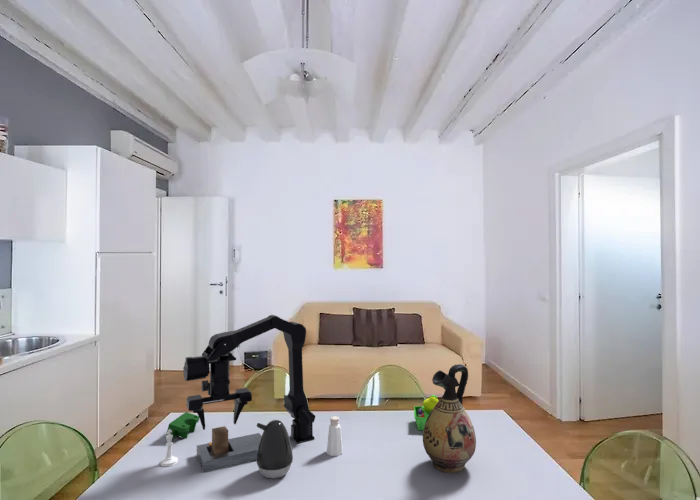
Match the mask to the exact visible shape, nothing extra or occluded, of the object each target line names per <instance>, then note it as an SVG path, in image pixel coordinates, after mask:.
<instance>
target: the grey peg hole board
mask: <svg viewBox="0 0 700 500" xmlns="http://www.w3.org/2000/svg"><path fill="white" fill-rule="evenodd" d="M261 436H262V434H261V433H260V432H257V433H252V434H247V435H243V436H238V437H234V438H233V437H232V438H228V453H224V454H219V455H215V456H212V441H211V442H208V443H202V444H198V445H196V458H197V460H198V463H199V466H200V468H201V471H202V473H207V472H210V471H214V470H215V471H216V470H218V469H219V470H220V469H224V468H229V467H233V466H236V465H240V464H245V463H248V462H249V463H250V462H253V461H257V453H258V447H259V443H260V439H261Z"/></svg>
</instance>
